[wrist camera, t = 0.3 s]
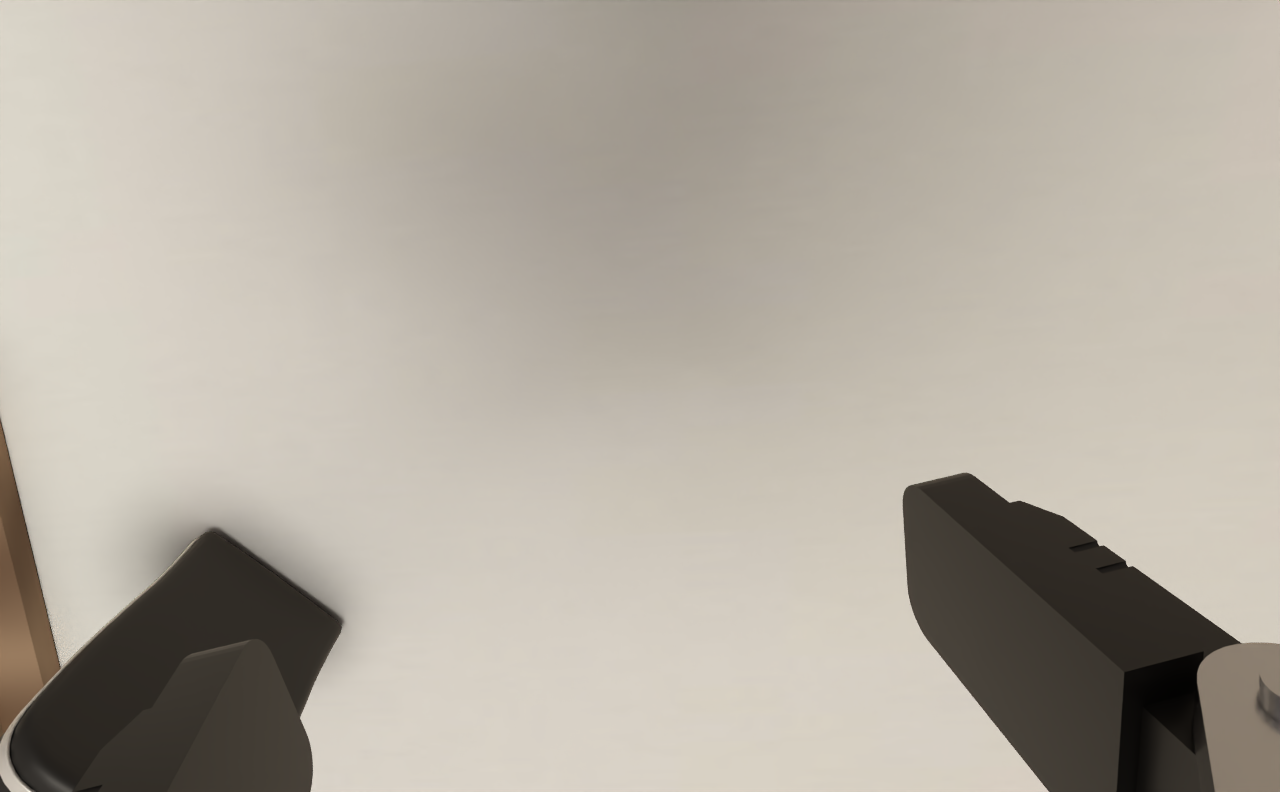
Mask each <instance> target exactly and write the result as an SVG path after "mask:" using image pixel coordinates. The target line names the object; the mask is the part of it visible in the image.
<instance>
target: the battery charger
mask: <svg viewBox="0 0 1280 792" xmlns="http://www.w3.org/2000/svg"><path fill="white" fill-rule="evenodd" d="M341 629H342V626H341V624H340V623H339V622H338V621H336V620H335V619H334V618H333V617H331V616H330V615H329V614H327V613H326V612H325V611H323V610H322V609H321V608H319V607H318V606H317V605H316V604H314V603H313V602H312V601H310V600H309V599H308V598H306V597H305V596H304V595H302V594H301V593H300V592H298V591H297V590H296V589H294V588H293V587H292V586H290V585H289V584H288V583H286V582H285V581H284V580H282V579H281V578H280V577H278V576H277V575H275V574H274V573H273V572H271V571H270V570H268V569H267V568H265V567H264V566H263V565H261V564H260V563H258V562H257V561H256V560H254V559H253V558H251V557H250V556H248V555H247V554H246V553H244V552H243V551H241V550H240V549H238V548H237V547H235V546H234V545H233V544H231V543H230V542H228V541H227V540H225V539H224V538H222V537H221V536H219V535H218V534H216V533H214V532H206V533H205V534H203V535H202V536H201V537H200V538H196V539H195V540H193V541H192V542H191V544H190V545H189V546H188V547H187V548H186V549H185V550H184V552H183V553H182V554H181V555H180V556H179V557H178V558H177V559H176V560H175V562H174V563H173V564H172V565H171V566H170V567H169V568H168V569H167V570H166V571H165V572H164V573H163V574H162V575H161V576H160V577H159V578H158V579H157V580H156V581H155V582H154V583H153V584H151V585H150V586H149V587H148V588H147V589H146V590H144V591H143V592H142V593H141V594H140V595H139V596H137V597H136V598H135V599H134V600H133V601H132V602H130V603H129V604H128V605H127V606H126V607H125V608H124V609H123V610H121V611H120V612H119V613H118V614H117V615H116V616H115V617H114V618H113V619H111V620H110V621H109V622H108V623H107V624H106V625H105V626H104V627H103V628H102V629H100V630H99V631H98V632H97V633H96V634H95V635H94V636H93V637H92V638H91V639H90V640H89V641H88V642H87V643H86V644H85V645H84V646H83V647H81V648H80V649H79V650H78V651H77V652H76V653H75V654H74V655H73V656H72V657H71V658H70V659H69V660H68V661H67V663H66V664H65V665H64V666H63V667H62V668H61V669H60V670H59V671H58V672H57V673H56V674H55V675H54V676H53V677H52V678H51V679H50V680H49V681H48V682H47V683H46V685H45V686H44V687H43V688H42V689H41V690H40V691H39V692H38V693H37V694H36V695H35V696H34V697H33V698H32V700H31V701H30V702H29V703H28V704H27V705H26V706H25V707H24V708H23V709H22V710H21V712H20V713H19V714H18V715H17V716H16V718H15V719H14V720H13V722H12V723H11V724H10V726H9V727H8V729H7V730H6V732H5V733H4V734H3V735H2V736H1V737H0V792H72V791H73V790H74V789H75V787H76V786H77V784H78V783H79V781H80V780H81V778H82V777H83V775H84V774H85V772H86V771H87V769H88V768H89V766H90V765H91V763H92V762H93V760H94V759H95V757H96V756H97V755H98V753H99V752H100V750H101V749H102V748H103V747H104V746H105V745H106V744H107V743H109V742H110V741H111V740H112V739H113V738H114V737H115V736H116V735H117V734H118V733H119V732H120V731H121V730H123V729H124V728H125V727H126V726H127V725H128V724H129V723H130V722H131V721H132V720H133V719H134V718H135V717H136V716H138V715H139V714H140V713H141V712H142V711H143V710H146V709H150V708H152V707H153V705H154V703H155V702H156V700H157V699H158V697H159V696H160V694H161V693H162V691H163V689H164V688H165V686H166V685H167V683H168V682H169V680H170V678H171V677H172V675H173V674H174V672H175V671H176V669H177V667H178V666H179V664H180V663H181V662H182V660H183V659H184V658H185V657H186V656H188V655H190V654H193V653H197V652H201V651H205V650H210V649H214V648H218V647H222V646H227V645H231V644H235V643H239V642H244V641H248V640H252V639H259V640H261V641H263V642H264V643H265V644H266V645H267V646H268V648H269V649H270V651H271V653H272V655H273V657H274V659H275V662H276V664H277V666H278V669H279V671H280V673H281V675H282V678H283V680H284V682H285V685H286V687H287V689H288V692H289V694H290V696H291V699H292V701H293V703H294V706H295V708H296V710H297V713H298V715H299V717H300V716H301V714H302V712H303V709H304V707H305V705H306V702H307V700H308V697H309V695H310V692H311V690H312V687H313V685H314V682H315V680H316V678H317V676H318V674H319V672H320V670H321V668H322V666H323V664H324V662H325V660H326V658H327V656H328V654H329V652H330V650H331V649H332V647H333V645H334V643H335V642H336V640H337V638H338V636H339V635H340V633H341Z"/></svg>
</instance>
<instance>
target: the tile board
mask: <svg viewBox="0 0 1280 792" xmlns="http://www.w3.org/2000/svg"><path fill="white" fill-rule="evenodd" d="M59 670H60V666H59V662H58V658H57V654H56V650H55V645H54V641H53V637H52V633H51V629H50V625H49V621H48V617H47V612H46V608H45V604H44V600H43V596H42V592H41V588H40V583H39V579H38V575H37V571H36V567H35V563H34V559H33V554H32V550H31V546H30V542H29V538H28V534H27V530H26V526H25V521H24V517H23V513H22V509H21V505H20V501H19V497H18V492H17V488H16V484H15V480H14V476H13V472H12V468H11V463H10V459H9V455H8V451H7V447H6V443H5V439H4V435H3V430H2V426H1V422H0V737H1V736H2V735H3V734H4V733H5V732H6V730H7V729H8V727H9V726H10V724H11V723H12V722H13V720H14V719H15V718H16V716H17V715H18V714H19V713H20V712H21V710H22V709H23V708H24V707H25V706H26V705H27V704H28V703H29V702H30V701H31V700H32V698H33V697H34V696H35V695H36V694H37V693H38V692H39V691H40V690H41V689H42V688H43V687H44V686H45V685H46V683H47V682H48V681H49V680H50V679H51V678H52V677H53V676H54V675H55V674H56V673H57V672H58V671H59Z"/></svg>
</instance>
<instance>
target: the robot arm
mask: <svg viewBox="0 0 1280 792" xmlns="http://www.w3.org/2000/svg"><path fill="white" fill-rule="evenodd" d="M903 517H904V534H905V551H906V568H907V584H908V594H909V599H910V603H911V606H912V610H913V613H914V615H915V618H916V620H917V622H918V625H919V627H920V629H921V630H922V632H923V634H924V635H925V637H926V638H927V640H928V641H929V642H930V643H931V645H932V646H933V647H934V648H935V650H936V651H937V652H938V653H939V655H940V656H941V657H942V658H943V660H944V661H945V662H946V663H947V665H948V666H949V667H950V668H951V670H952V671H953V672H954V673H955V675H956V676H957V677H958V678H959V680H960V681H961V682H962V683H963V685H964V686H965V687H966V688H967V690H968V691H969V692H970V693H971V695H972V696H973V697H974V698H975V700H976V701H977V702H978V703H979V705H980V706H981V707H982V708H983V710H984V711H985V712H986V713H987V715H988V716H989V717H990V718H991V720H992V721H993V722H994V723H995V725H996V726H997V727H998V728H999V730H1000V731H1001V732H1002V733H1003V735H1004V736H1005V737H1006V738H1007V740H1008V741H1009V742H1010V743H1011V745H1012V746H1013V747H1014V748H1015V750H1016V751H1017V752H1018V753H1019V755H1020V756H1021V757H1022V758H1023V760H1024V761H1025V762H1026V763H1027V765H1028V766H1029V767H1030V768H1031V770H1032V771H1033V772H1034V773H1035V775H1036V776H1037V777H1038V778H1039V780H1040V781H1041V782H1042V783H1043V785H1044V786H1045V787H1046V788H1047V790H1048V791H1049V792H1280V644H1275V643H1240V642H1239V641H1238V640H1236V639H1235V638H1233V637H1232V636H1230V635H1229V634H1228V633H1226V632H1225V631H1223V630H1222V629H1221V628H1219V627H1218V626H1216V625H1215V624H1214V623H1212V622H1211V621H1209V620H1208V619H1207V618H1205V617H1204V616H1202V615H1201V614H1200V613H1198V612H1197V611H1195V610H1194V609H1193V608H1191V607H1190V606H1188V605H1187V604H1185V603H1184V602H1183V601H1181V600H1180V599H1178V598H1177V597H1176V596H1174V595H1173V594H1171V593H1170V592H1169V591H1167V590H1166V589H1164V588H1163V587H1162V586H1160V585H1159V584H1157V583H1156V582H1155V581H1153V580H1152V579H1150V578H1149V577H1148V576H1146V575H1145V574H1143V573H1142V572H1140V571H1139V570H1138V569H1136V568H1135V567H1133V566H1132V567H1128V566H1127V565H1126V561H1125V560H1124V559H1122V558H1121V557H1119V556H1118V555H1117V554H1115V553H1114V552H1112V551H1111V550H1110V549H1108V548H1107V547H1105V546H1099V545H1098V543H1097V540H1095V539H1094V538H1093V537H1091V536H1090V535H1088V534H1087V533H1086V532H1084V531H1083V530H1081V529H1080V528H1079V527H1077V526H1076V525H1074V524H1073V523H1072V522H1070V521H1069V520H1067V519H1066V518H1065V517H1063V516H1060V515H1057V514H1055V513H1052V512H1049V511H1047V510H1044V509H1041V508H1038V507H1036V506H1033V505H1030V504H1028V503H1025V502H1022V501H1016V502H1012V503H1009V502H1008V501H1006V500H1005V499H1004V498H1002V497H1001V496H1000V495H998V494H997V493H996V492H995V491H993V490H992V489H991V488H989V487H988V486H987V485H985V484H984V483H983V482H981V481H980V480H979V479H977V478H976V477H975V476H973V475H972V474H969V473H961V474H957V475H952V476H948V477H944V478H940V479H936V480H931V481H927V482H923V483H919V484H914V485H910V486H908V487H907V488H906V490H905V492H904V495H903ZM312 776H313V762H312V752H311V747H310V743H309V739H308V736H307V734H306V731H305V729H304V726H303V724H302V722H301V720H300V717H299V715H298V713H297V710H296V708H295V706H294V703H293V701H292V699H291V696H290V694H289V692H288V689H287V687H286V685H285V682H284V680H283V678H282V675H281V673H280V671H279V669H278V666H277V664H276V662H275V659H274V657H273V655H272V653H271V651H270V649H269V648H268V646H267V645H266V644H265V643H264V642H263V641H261V640H259V639H252V640H248V641H244V642H239V643H235V644H231V645H227V646H222V647H218V648H214V649H210V650H205V651H201V652H197V653H193V654H190V655H188V656H186V657H185V658H184V659H183V660H182V662H181V663H180V664H179V666H178V667H177V669H176V671H175V672H174V674H173V675H172V677H171V678H170V680H169V682H168V683H167V685H166V686H165V688H164V689H163V691H162V693H161V694H160V696H159V697H158V699H157V700H156V702H155V703H154V705H153V707H152V708H150V709H146V710H143V711H142V712H141V713H140V714H139V715H138V716H136V717H135V718H134V719H133V720H132V721H131V722H130V723H129V724H128V725H127V726H126V727H125V728H124V729H123V730H121V731H120V732H119V733H118V734H117V735H116V736H115V737H114V738H113V739H112V740H111V741H110V742H109V743H107V744H106V745H105V746H104V747H103V748H102V749H101V750H100V752H99V753H98V755H97V756H96V757H95V759H94V760H93V762H92V763H91V765H90V766H89V768H88V769H87V771H86V772H85V774H84V775H83V777H82V778H81V780H80V781H79V783H78V784H77V786H76V787H75V789H74V790H73V791H72V792H310V790H311V785H312Z"/></svg>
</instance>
